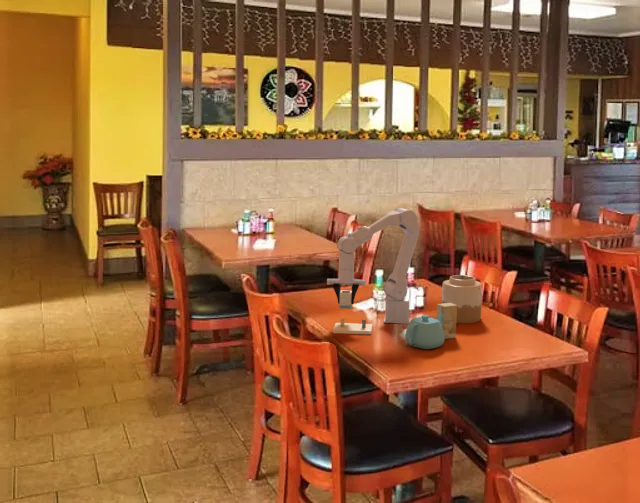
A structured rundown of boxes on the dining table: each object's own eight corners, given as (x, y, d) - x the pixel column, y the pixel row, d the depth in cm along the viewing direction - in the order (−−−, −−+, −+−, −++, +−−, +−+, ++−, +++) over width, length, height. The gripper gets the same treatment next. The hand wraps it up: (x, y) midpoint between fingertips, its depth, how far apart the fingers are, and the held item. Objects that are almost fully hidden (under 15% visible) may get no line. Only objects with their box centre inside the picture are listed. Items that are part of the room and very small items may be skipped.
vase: (464, 326, 284) (465, 283, 281) (433, 318, 295) (434, 276, 292) (488, 319, 294) (490, 277, 291) (457, 311, 305) (459, 271, 302)
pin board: (372, 327, 282) (372, 316, 281) (371, 334, 272) (371, 323, 272) (335, 325, 284) (335, 315, 283) (333, 333, 274) (333, 321, 273)
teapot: (458, 314, 259) (423, 323, 248) (457, 343, 261) (422, 354, 250) (431, 307, 269) (396, 315, 257) (430, 336, 271) (395, 345, 259)
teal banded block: (352, 305, 286) (352, 290, 285) (351, 308, 281) (351, 293, 280) (340, 305, 286) (340, 290, 285) (339, 308, 282) (339, 292, 281)
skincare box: (442, 339, 266) (443, 306, 264) (434, 336, 270) (435, 304, 267) (456, 337, 269) (457, 304, 267) (449, 334, 272) (450, 302, 270)
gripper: (366, 267, 284) (365, 301, 286) (328, 265, 286) (328, 300, 288) (364, 270, 277) (364, 306, 280) (326, 269, 279) (326, 304, 282)
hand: (345, 303), depth 284 cm, fingers closed on teal banded block, 4 cm apart
